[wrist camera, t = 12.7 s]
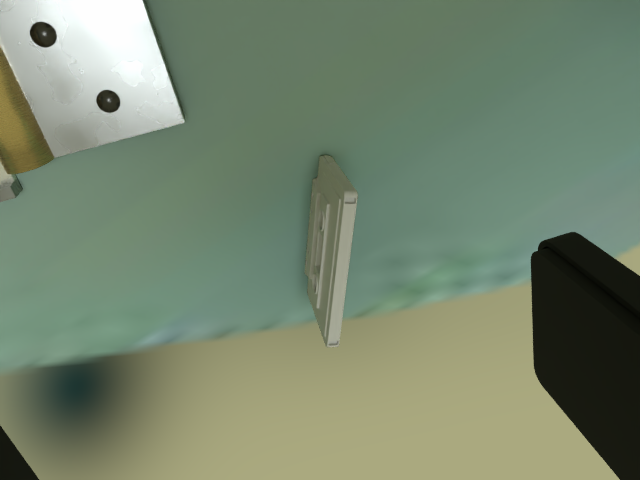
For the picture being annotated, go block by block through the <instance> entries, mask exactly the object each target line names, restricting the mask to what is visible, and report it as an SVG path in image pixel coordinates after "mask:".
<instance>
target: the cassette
mask: <svg viewBox="0 0 640 480" xmlns="http://www.w3.org/2000/svg"><path fill="white" fill-rule="evenodd" d="M357 199H358V194H357V191H356V189H355V188H354V187H353V185H352V184H351V183H350V181H349V180H348V178H347V177H346V176H345V174H344V173H343V172H342V170H341V169H340V167H339V166H338V165H337V163H336V162H335V160H334V159H333V158H332V156H329V155H324V156H320V157H319V167H318V176H317V178H315V179H313V182H312V194H311V205H310V217H309V228H308V240H307V251H306V263H305V274H306V275H307V276H308V289H307V293H308V296H309V299H310V302H311V305H312V308H313V311H314V314H315V316H316V319H317V322H318V325H319V328H320V331H321V334H322V336H323V339H324V342H325V345H326V347H338V346H339V339H340V332H341V323H342V316H343V308H344V300H345V292H346V284H347V276H348V268H349V260H350V253H351V245H352V237H353V229H354V221H355V213H356V205H357Z"/></svg>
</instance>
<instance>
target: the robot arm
mask: <svg viewBox="0 0 640 480" xmlns="http://www.w3.org/2000/svg"><path fill="white" fill-rule="evenodd" d="M531 282H532V317H533V353H534V369H535V373H536V375H537V378H538V380H539V382H540V383H541V385H542V386H543V387H544V389H545V390H546V391H547V392H548V393H549V395H550V396H551V397H552V398H553V399H554V401H555V402H556V403H557V404H558V405H559V407H560V408H561V409H562V410H563V411H564V413H565V414H566V415H567V416H568V417H569V419H570V420H571V421H572V422H573V423H574V425H575V426H576V427H577V428H578V429H579V431H580V432H581V433H582V434H583V435H584V437H585V438H586V439H587V440H588V442H589V443H590V444H591V445H592V446H593V447H594V449H595V450H596V451H597V452H598V454H599V455H600V456H601V457H602V458H603V460H604V461H605V462H606V463H607V464H608V466H609V467H610V468H611V469H612V470H613V471H614V473H615V474H616V475H617V476H618V478H619V479H620V480H640V276H639V275H637V274H636V273H635V272H633V271H632V270H630V269H629V268H627V267H626V266H624V265H623V264H621V263H620V262H619V261H617V260H616V259H614V258H613V257H612V256H610V255H609V254H607V253H606V252H604V251H603V250H602V249H600V248H599V247H597V246H596V245H594V244H593V243H591V242H590V241H589V240H587V239H586V238H584V237H583V236H581V235H580V234H578V233H576V232H570V233H567V234H563V235H560V236H557V237H554V238H550V239H547V240H544V241H542V242H541V243H540V244H539V246H538V251H536V252H534V253H533V254H532V256H531ZM0 480H39V479H38V478H37V476H36V475H35V473H34V472H33V470H32V469H31V468H30V466H29V465H28V464H27V462H26V461H25V460H24V458H23V457H22V455H21V454H20V452H19V451H18V450H17V448H16V447H15V445H14V444H13V443H12V441H11V440H10V438H9V437H8V436H7V434H6V433H5V432H4V430H3V429H2V427H1V426H0Z"/></svg>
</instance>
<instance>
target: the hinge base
mask: <svg viewBox="0 0 640 480" xmlns="http://www.w3.org/2000/svg"><path fill="white" fill-rule="evenodd" d="M181 123H185V116H184V113H183V110H182V107H181V104H180V101H179V98H178V96H177V93H176V90H175V87H174V84H173V81H172V78H171V75H170V72H169V69H168V66H167V64H166V61H165V58H164V55H163V52H162V49H161V46H160V43H159V40H158V37H157V34H156V32H155V29H154V26H153V23H152V20H151V17H150V14H149V11H148V8H147V5H146V2H145V0H0V202H2V201H6V200H9V199H13V198H16V197H17V195H18V194H19V193H20V192H21V190H22V187H21V185H20V183H19V181H18V179H17V177H16V175H15V174H18V173H23V172H26V171H30V170H33V169H35V168H38V167H40V166H43V165H45V164H47V163H48V162H50V161H51V160H53V159H54V158H56V157H59V156H63V155H67V154H70V153H74V152H78V151H81V150H85V149H89V148H93V147H96V146H100V145H104V144H107V143H111V142H115V141H118V140H122V139H126V138H129V137H133V136H137V135H141V134H144V133H148V132H152V131H155V130H159V129H163V128H166V127H170V126H174V125H177V124H181Z"/></svg>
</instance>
